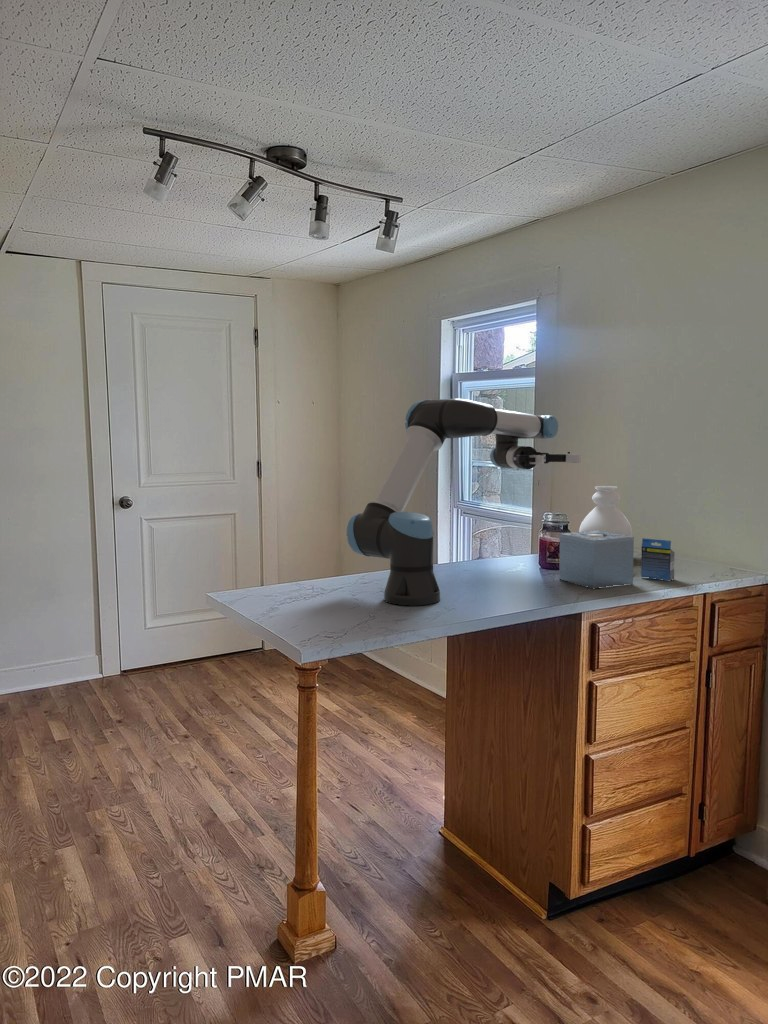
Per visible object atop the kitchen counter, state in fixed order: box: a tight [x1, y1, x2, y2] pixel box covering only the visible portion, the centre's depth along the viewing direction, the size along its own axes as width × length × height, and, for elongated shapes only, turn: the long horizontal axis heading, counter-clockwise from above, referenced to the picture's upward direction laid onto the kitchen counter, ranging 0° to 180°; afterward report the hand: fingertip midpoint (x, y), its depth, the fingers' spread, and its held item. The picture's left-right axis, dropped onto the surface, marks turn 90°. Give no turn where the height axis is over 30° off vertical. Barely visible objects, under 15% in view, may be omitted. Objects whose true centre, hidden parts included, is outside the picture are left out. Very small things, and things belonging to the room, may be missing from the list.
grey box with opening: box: [558, 530, 635, 588], centre depth 217 cm, size 14×16×14 cm
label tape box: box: [640, 537, 676, 582], centre depth 220 cm, size 9×4×12 cm, turn 50°
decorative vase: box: [578, 485, 633, 537], centre depth 258 cm, size 18×18×25 cm
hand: (561, 459), depth 225 cm, fingers open, 13 cm apart
